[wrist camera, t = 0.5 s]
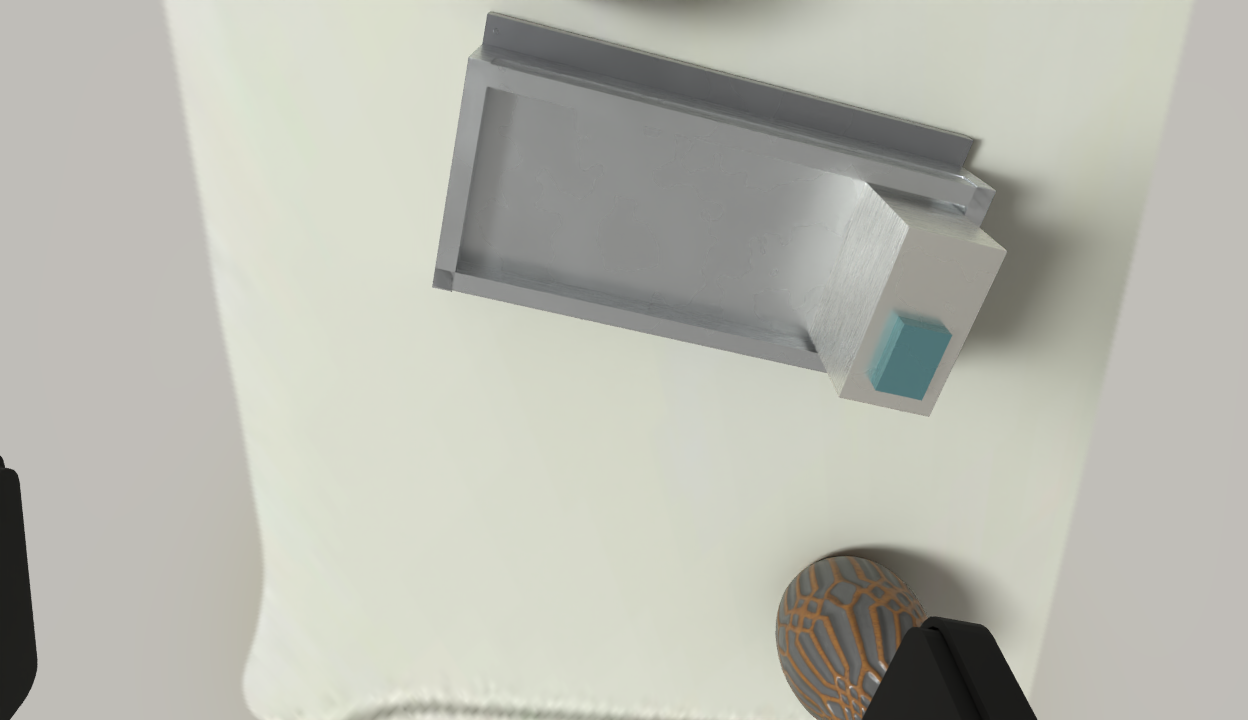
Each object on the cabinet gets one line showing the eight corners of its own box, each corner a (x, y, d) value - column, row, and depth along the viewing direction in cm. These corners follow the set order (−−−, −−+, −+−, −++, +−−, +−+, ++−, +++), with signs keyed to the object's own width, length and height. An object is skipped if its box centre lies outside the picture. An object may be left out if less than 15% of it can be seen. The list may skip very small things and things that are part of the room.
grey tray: (490, 11, 30) (450, 41, 23) (965, 135, 32) (1072, 200, 25) (447, 271, 34) (401, 369, 27) (868, 365, 37) (933, 479, 29)
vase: (736, 601, 43) (764, 754, 35) (830, 508, 40) (883, 651, 32) (840, 659, 45) (888, 817, 37) (935, 575, 42) (1009, 725, 34)
